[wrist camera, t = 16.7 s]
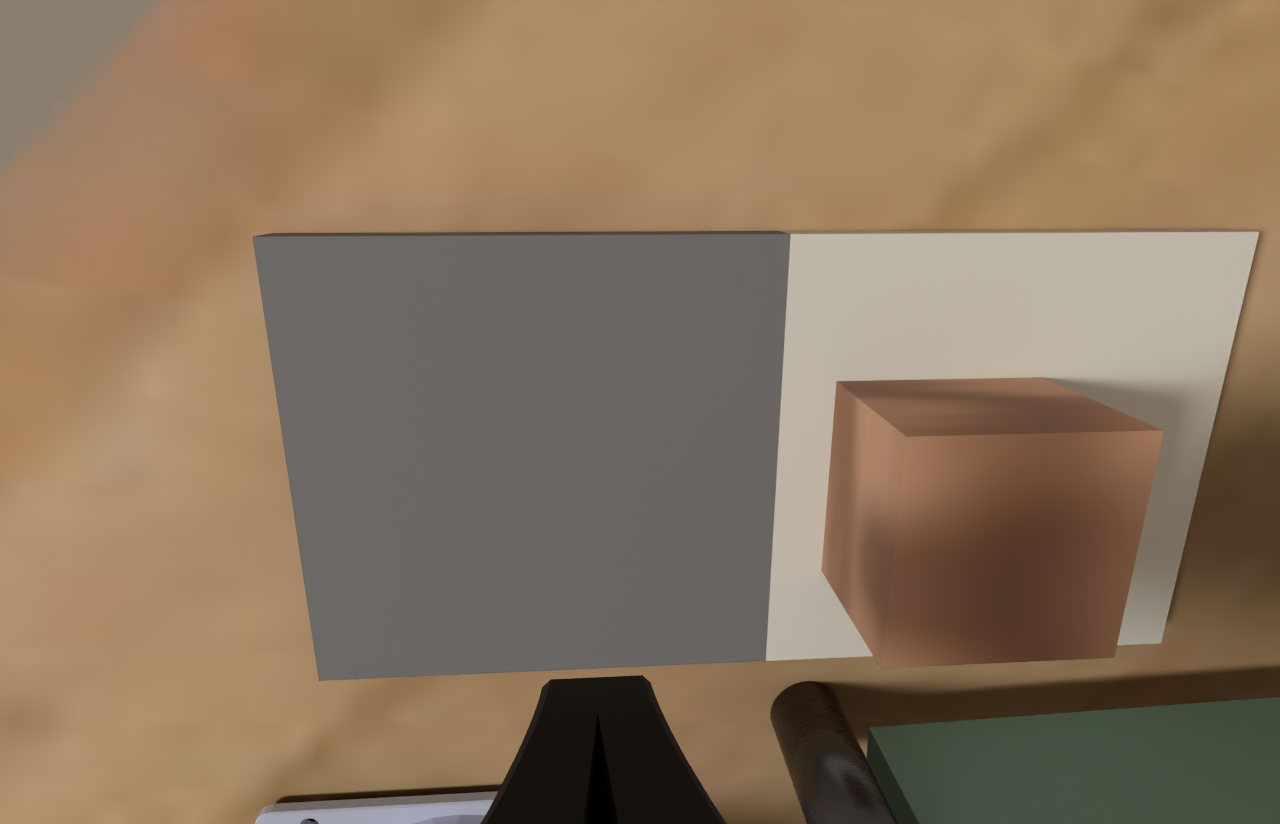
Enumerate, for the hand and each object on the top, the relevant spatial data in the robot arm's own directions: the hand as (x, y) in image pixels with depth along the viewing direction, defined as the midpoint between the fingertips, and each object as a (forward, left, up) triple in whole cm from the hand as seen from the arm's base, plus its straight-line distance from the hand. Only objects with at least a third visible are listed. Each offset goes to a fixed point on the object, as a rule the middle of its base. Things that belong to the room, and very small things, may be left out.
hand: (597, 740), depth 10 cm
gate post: (+6, -8, -9) cm, 13 cm away
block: (+8, 0, -8) cm, 12 cm away
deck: (+4, 0, -9) cm, 10 cm away
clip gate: (+15, -7, -8) cm, 18 cm away
